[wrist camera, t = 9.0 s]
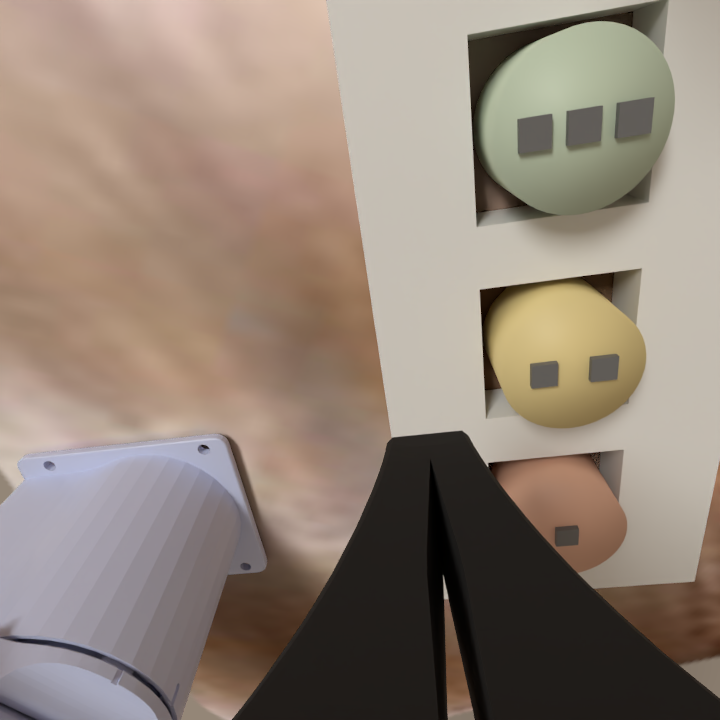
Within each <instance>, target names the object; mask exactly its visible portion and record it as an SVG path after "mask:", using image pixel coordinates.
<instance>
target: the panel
mask: <svg viewBox="0 0 720 720" xmlns="http://www.w3.org/2000/svg"><path fill="white" fill-rule="evenodd" d="M326 3H327V10H328V16H329V23H330V30H331V36H332V43H333V49H334V56H335V63H336V69H337V76H338V83H339V89H340V96H341V103H342V109H343V116H344V123H345V129H346V136H347V143H348V149H349V156H350V163H351V169H352V176H353V183H354V189H355V196H356V203H357V209H358V216H359V223H360V229H361V236H362V242H363V249H364V256H365V262H366V269H367V276H368V282H369V289H370V296H371V302H372V309H373V316H374V322H375V329H376V336H377V342H378V349H379V356H380V362H381V369H382V376H383V382H384V389H385V396H386V402H387V409H388V416H389V422H390V429H391V436H392V438H393V437H401V436H411V435H421V434H431V433H441V432H451V431H461V430H462V431H463V432H465V433H466V434H467V435H469V437H470V439H471V441H472V443H473V445H474V447H475V448H476V450H477V452H478V453H479V455H480V456H481V458H482V459H483V461H484V462H485V464H486V465H487V467H488V463H491V462H501V461H511V460H522V459H532V458H542V457H552V456H563V455H573V454H583V453H594V452H601V453H600V466H599V471H600V473H601V474H602V476H603V478H604V479H605V481H606V483H607V484H608V486H609V488H610V489H611V491H612V493H613V494H614V496H615V498H616V499H617V501H618V503H619V504H620V506H621V508H622V509H623V511H624V513H625V516H626V519H627V532H626V536H625V539H624V541H623V543H622V544H621V546H620V547H619V549H618V550H617V551H616V552H615V553H614V554H613V555H612V556H611V557H610V558H609V559H607V560H606V561H604V562H603V563H601V564H600V565H598V566H596V567H594V568H591V569H589V570H586V571H583V572H579V573H578V574H579V575H580V576H581V577H582V578H583V579H584V580H585V581H586V582H587V583H588V584H589V585H590V586H591V587H592V588H593V589H597V588H611V587H625V586H639V585H653V584H667V583H681V582H694V581H695V577H696V572H697V567H698V562H699V557H700V552H701V547H702V543H703V538H704V533H705V528H706V523H707V518H708V513H709V508H710V504H711V499H712V494H713V489H714V484H715V479H716V474H717V470H718V465H719V460H720V0H326ZM632 11H633V24H632V28H634V29H636V30H638V31H639V32H641V33H643V34H644V35H646V36H647V37H648V38H649V39H650V40H651V41H653V42H654V44H655V45H656V46H657V47H658V48H659V50H660V51H661V52H662V54H663V56H664V58H665V59H666V61H667V63H668V66H669V68H670V71H671V74H672V78H673V83H674V91H675V109H674V116H673V122H672V126H671V130H670V133H669V136H668V139H667V141H666V144H665V146H664V148H663V150H662V152H661V154H660V156H659V158H658V159H657V161H656V162H655V164H654V165H653V167H652V168H651V170H650V171H649V172H648V173H647V175H646V176H645V177H644V178H643V179H642V180H641V181H640V182H639V183H638V184H637V185H636V186H635V187H634V188H633V189H632V190H631V191H629V192H628V193H627V194H625V195H624V196H623V197H621V198H620V199H618V200H617V201H615V202H613V203H612V204H609V205H607V206H605V207H603V208H601V209H598V210H595V211H592V212H589V213H584V214H579V215H556V214H551V213H546V212H543V211H540V210H537V209H535V208H534V207H532V206H530V205H527V206H520V207H514V208H507V209H500V210H493V211H486V212H479V213H476V203H475V183H474V162H473V142H472V121H471V100H470V80H469V59H468V41H470V40H476V39H482V38H487V37H493V36H498V35H504V34H509V33H515V32H521V31H526V30H532V29H537V28H543V27H548V26H554V25H560V24H565V23H571V22H576V21H582V20H587V19H593V18H599V17H604V16H610V15H615V14H621V13H626V12H632ZM610 272H614V278H613V292H612V304H613V305H614V306H615V307H617V308H618V309H619V310H620V311H621V312H622V313H624V314H625V315H626V316H627V317H628V318H629V319H630V320H631V321H632V322H633V323H634V324H635V325H636V326H637V328H638V329H639V330H640V332H641V334H642V336H643V339H644V342H645V346H646V365H645V370H644V373H643V376H642V378H641V381H640V383H639V385H638V386H637V388H636V389H635V391H634V392H633V394H632V395H631V396H630V397H629V399H628V400H627V401H626V402H625V403H624V404H623V405H622V406H620V407H619V408H618V409H617V410H615V411H614V412H613V413H611V414H609V415H608V416H606V417H604V418H602V419H600V420H598V421H596V422H593V423H590V424H588V425H584V426H580V427H574V428H550V427H544V426H541V425H537V424H535V423H532V422H530V421H528V420H526V419H525V418H523V417H522V416H520V415H519V414H518V413H517V412H516V411H515V410H514V409H513V408H512V407H511V405H510V404H509V402H508V401H507V399H506V397H505V395H504V392H503V390H502V389H494V390H485V389H484V369H483V348H482V327H481V307H480V289H488V288H495V287H503V286H511V285H518V284H526V283H534V282H541V281H549V280H556V279H564V278H572V277H579V276H587V275H595V274H602V273H610ZM443 583H444V599H449V598H448V594H447V589H446V585H445V580H444V576H443Z"/></svg>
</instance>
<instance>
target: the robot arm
mask: <svg viewBox="0 0 720 720" xmlns="http://www.w3.org/2000/svg"><path fill="white" fill-rule="evenodd" d="M201 445H206V446H208V447H209V448H210V449H205V448H203V447H202V446H201ZM51 462H52V463H54V464H55V465H54V464H52V463H51ZM17 465H18V468H19V470H20V472H21V474H22V476H23V477H24V479H25V480H24V481H23V482H22V483H21V484H20V485H19V486H18V487H17V488H16V489H15V490H14V491H13V492H12V494H11V495H10V496H9V497H8V498H7V499H6V500H5V501H4V502H3V503H2V504H1V505H0V720H181V717H182V714H183V711H184V708H185V705H186V702H187V698H188V696H189V693H190V690H191V686H192V683H193V680H194V677H195V674H196V671H197V668H198V665H199V662H200V659H201V656H202V652H203V649H204V646H205V643H206V640H207V637H208V634H209V631H210V628H211V625H212V622H213V618H214V615H215V612H216V609H217V606H218V603H219V600H220V597H221V594H222V591H223V588H224V584H225V581H226V578H227V575H232V574H245V573H257V572H262V571H263V570H265V568H266V565H267V557H266V554H265V551H264V548H263V545H262V542H261V539H260V536H259V533H258V530H257V527H256V524H255V521H254V517H253V514H252V511H251V508H250V505H249V502H248V499H247V496H246V493H245V490H244V487H243V484H242V481H241V478H240V475H239V472H238V468H237V465H236V462H235V459H234V456H233V453H232V450H231V447H230V444H229V441H228V440H227V438H225V437H224V436H222V435H220V434H209V435H199V436H190V437H181V438H172V439H163V440H153V441H144V442H135V443H126V444H117V445H107V446H98V447H89V448H80V449H70V450H61V451H52V452H43V453H34V454H27V455H24V456H23V457H22V458H21V459H20V460H19V461H18V464H17ZM246 563H248V564H246ZM443 576H444V580H445V585H446V589H447V594H448V598H449V603H450V608H451V612H452V617H453V621H454V626H455V630H456V635H457V639H458V644H459V648H460V653H461V657H462V662H463V667H464V671H465V676H466V680H467V685H468V689H469V694H470V698H471V703H472V707H473V712H474V718H475V720H720V698H718V697H717V696H716V695H715V694H713V693H712V692H711V691H710V690H708V689H707V688H706V687H705V686H704V685H702V684H701V683H700V682H699V681H697V680H696V679H695V678H694V677H692V676H691V675H690V674H689V673H688V672H686V671H685V670H684V669H683V668H682V667H680V666H679V665H678V664H677V663H675V662H674V661H673V660H672V659H670V658H669V657H668V656H667V655H666V654H664V653H663V652H662V651H661V650H660V649H659V648H657V647H656V646H655V645H654V644H653V643H652V642H651V641H650V640H648V639H647V638H646V637H645V636H644V635H643V634H642V633H641V632H639V631H638V630H637V629H636V628H635V627H634V626H633V625H632V624H631V623H629V622H628V621H627V620H626V619H625V618H624V617H623V616H622V615H620V614H619V613H618V612H617V611H616V610H615V609H614V608H613V607H612V606H611V605H610V604H609V603H608V602H607V601H606V600H605V599H604V598H603V597H601V596H600V595H599V594H598V593H597V592H596V591H595V590H594V589H593V588H592V587H591V586H590V585H589V584H588V583H587V582H586V581H585V580H584V579H583V578H582V577H581V576H580V575H579V574H578V573H577V572H576V571H575V570H574V569H573V568H572V567H571V566H570V565H569V564H568V563H567V562H566V561H565V560H564V559H563V557H562V556H561V555H560V554H559V553H558V552H557V551H556V550H555V549H554V548H553V547H552V545H551V544H550V543H549V542H548V541H547V540H546V539H545V538H544V537H543V536H542V535H541V533H540V532H539V531H538V530H537V529H536V528H535V526H534V525H533V524H532V523H531V522H530V521H529V520H528V518H527V517H526V516H525V515H524V513H523V512H522V511H521V510H520V509H519V507H518V506H517V505H516V504H515V502H514V501H513V500H512V499H511V497H510V496H509V495H508V494H507V492H506V491H505V490H504V489H503V487H502V486H501V485H500V483H499V482H498V481H497V479H496V478H495V477H494V475H493V474H492V472H491V471H490V469H489V468H488V467H487V465H486V464H485V462H484V461H483V459H482V458H481V456H480V455H479V453H478V452H477V450H476V448H475V447H474V445H473V443H472V441H471V439H470V437H469V435H467V434H466V433H465V432H463V431H462V430H461V431H451V432H441V433H431V434H421V435H411V436H401V437H393V438H392V439H391V440H390V441H389V442H388V443H387V447H386V452H385V455H384V459H383V462H382V465H381V468H380V471H379V474H378V477H377V480H376V482H375V485H374V488H373V490H372V493H371V495H370V497H369V499H368V502H367V504H366V506H365V509H364V511H363V513H362V515H361V518H360V520H359V522H358V524H357V527H356V529H355V531H354V533H353V535H352V537H351V539H350V540H349V542H348V544H347V546H346V548H345V550H344V552H343V554H342V556H341V558H340V560H339V562H338V563H337V565H336V567H335V569H334V571H333V573H332V575H331V576H330V578H329V580H328V582H327V583H326V585H325V587H324V588H323V590H322V592H321V593H320V595H319V597H318V598H317V600H316V602H315V603H314V605H313V607H312V608H311V610H310V611H309V613H308V614H307V616H306V618H305V619H304V621H303V622H302V624H301V625H300V627H299V629H298V630H297V632H296V633H295V635H294V636H293V637H292V639H291V640H290V642H289V643H288V645H287V646H286V647H285V649H284V650H283V652H282V653H281V655H280V656H279V657H278V659H277V660H276V662H275V663H274V665H273V666H272V667H271V669H270V670H269V672H268V673H267V675H266V676H265V677H264V679H263V680H262V681H261V683H260V684H259V685H258V687H257V688H256V690H255V691H254V692H253V694H252V695H251V696H250V697H249V699H248V700H247V701H246V703H245V704H244V705H243V707H242V708H241V709H240V710H239V712H238V713H237V714H236V715H235V717H234V718H233V719H232V720H448V717H447V689H446V653H445V617H444V583H443Z"/></svg>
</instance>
